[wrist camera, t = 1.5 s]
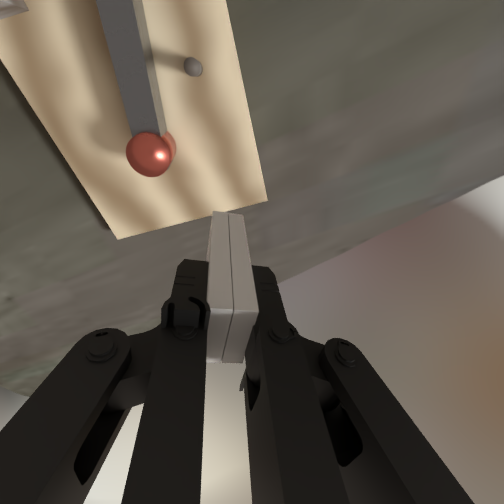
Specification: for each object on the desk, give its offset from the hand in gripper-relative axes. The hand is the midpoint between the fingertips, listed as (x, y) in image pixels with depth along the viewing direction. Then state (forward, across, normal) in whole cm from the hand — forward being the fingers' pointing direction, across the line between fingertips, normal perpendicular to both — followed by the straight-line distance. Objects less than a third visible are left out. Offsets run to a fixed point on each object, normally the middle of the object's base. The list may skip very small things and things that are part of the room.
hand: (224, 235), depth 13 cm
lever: (+16, -8, +7) cm, 19 cm away
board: (+18, -9, +6) cm, 21 cm away
